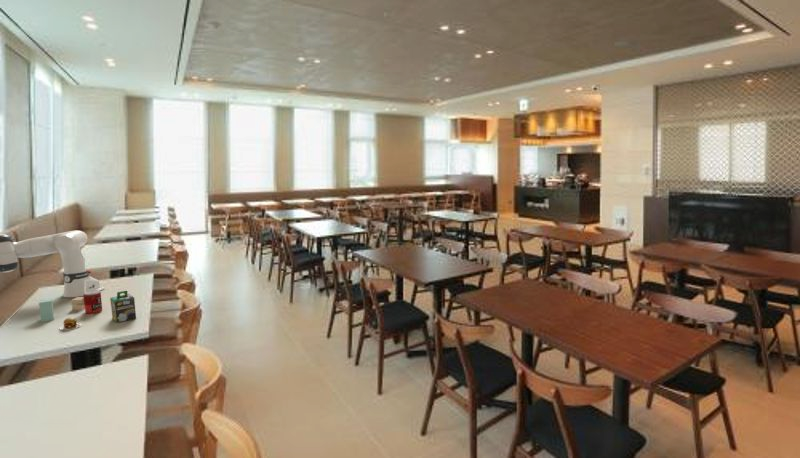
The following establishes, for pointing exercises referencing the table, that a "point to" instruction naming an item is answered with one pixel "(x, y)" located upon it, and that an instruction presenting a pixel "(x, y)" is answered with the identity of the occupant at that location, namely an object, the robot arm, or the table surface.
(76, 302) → the oak block
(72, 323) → the hamburger
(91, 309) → the canned food
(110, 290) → the table surface
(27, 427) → the table surface
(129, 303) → the chalk box
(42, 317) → the teal block
